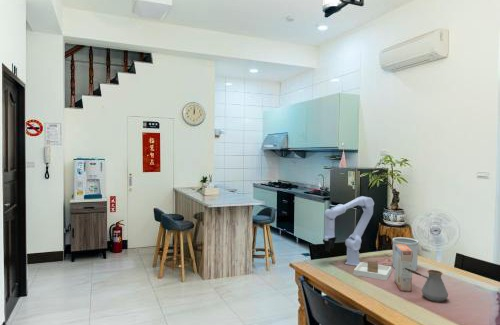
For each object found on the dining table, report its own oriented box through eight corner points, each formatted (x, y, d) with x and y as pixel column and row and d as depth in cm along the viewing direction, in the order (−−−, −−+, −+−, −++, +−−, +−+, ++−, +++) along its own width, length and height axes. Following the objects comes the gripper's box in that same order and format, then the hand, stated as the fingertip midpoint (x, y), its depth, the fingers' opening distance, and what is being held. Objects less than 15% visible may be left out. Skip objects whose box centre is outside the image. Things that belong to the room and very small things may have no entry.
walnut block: (367, 270, 209) (367, 260, 209) (376, 271, 208) (376, 261, 208) (368, 273, 204) (368, 263, 204) (377, 274, 203) (377, 263, 203)
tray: (360, 266, 219) (360, 262, 219) (391, 271, 210) (391, 266, 210) (353, 274, 203) (353, 269, 203) (386, 280, 194) (386, 275, 194)
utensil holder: (422, 272, 209) (423, 242, 209) (397, 271, 210) (397, 242, 210) (411, 264, 224) (412, 237, 224) (388, 264, 224) (388, 237, 224)
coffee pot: (439, 293, 176) (439, 263, 175) (453, 303, 164) (454, 271, 164) (397, 294, 174) (397, 264, 174) (409, 303, 163) (409, 271, 163)
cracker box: (412, 291, 178) (413, 250, 177) (399, 290, 179) (400, 250, 179) (406, 282, 191) (406, 244, 191) (394, 281, 193) (394, 243, 192)
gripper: (327, 225, 230) (327, 246, 231) (320, 229, 218) (319, 251, 218) (337, 227, 227) (337, 248, 227) (331, 230, 214) (330, 253, 214)
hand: (329, 249), depth 222 cm, fingers open, 7 cm apart
